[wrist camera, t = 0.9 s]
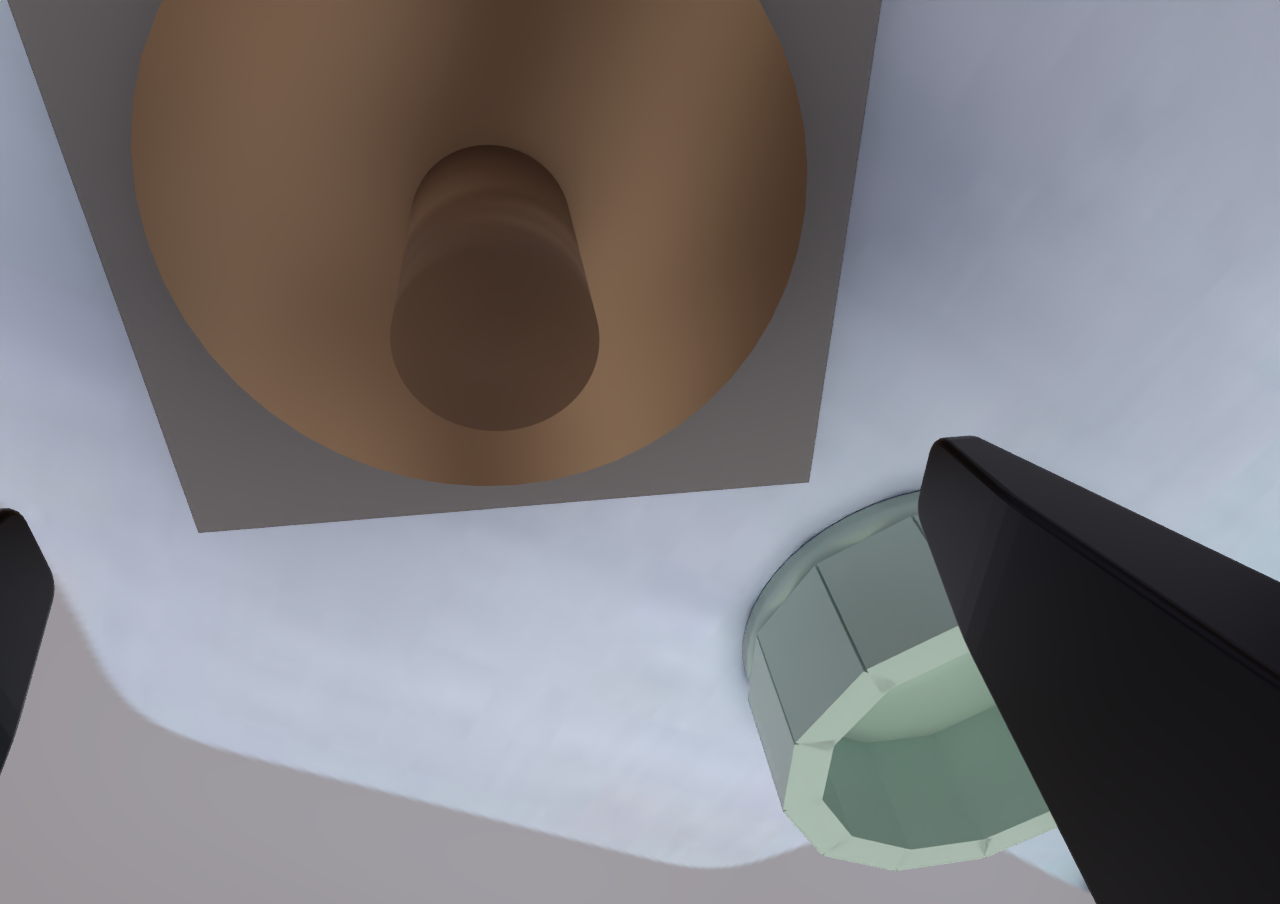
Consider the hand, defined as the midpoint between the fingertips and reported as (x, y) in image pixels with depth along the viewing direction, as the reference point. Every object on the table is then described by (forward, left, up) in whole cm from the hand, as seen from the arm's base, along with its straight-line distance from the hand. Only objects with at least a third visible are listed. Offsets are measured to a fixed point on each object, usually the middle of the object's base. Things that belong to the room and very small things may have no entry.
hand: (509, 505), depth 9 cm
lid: (0, 0, -9) cm, 9 cm away
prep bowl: (-11, +13, -10) cm, 20 cm away
